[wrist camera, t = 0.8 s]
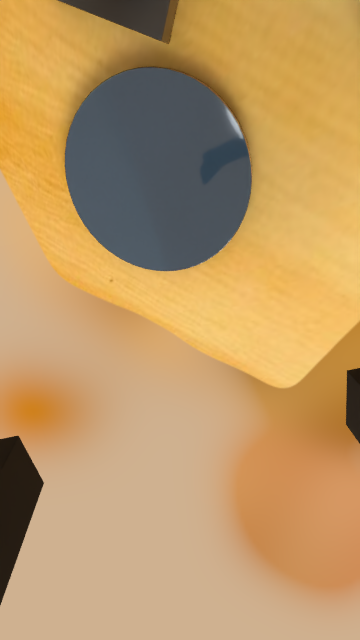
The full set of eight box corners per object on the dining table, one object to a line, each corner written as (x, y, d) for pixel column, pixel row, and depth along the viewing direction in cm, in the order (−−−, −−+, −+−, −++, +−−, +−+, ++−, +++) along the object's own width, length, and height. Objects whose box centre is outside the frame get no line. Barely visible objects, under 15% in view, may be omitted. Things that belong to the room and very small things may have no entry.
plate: (39, 100, 31) (32, 100, 30) (237, 36, 26) (236, 34, 25) (107, 275, 40) (103, 280, 39) (261, 254, 35) (261, 259, 34)
